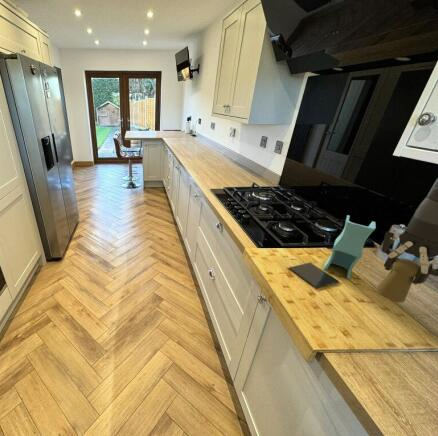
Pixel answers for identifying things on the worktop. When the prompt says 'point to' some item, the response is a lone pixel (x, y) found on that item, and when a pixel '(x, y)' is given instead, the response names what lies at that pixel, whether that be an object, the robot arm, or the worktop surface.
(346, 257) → the teal waisted stand
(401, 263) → the cork
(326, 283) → the slate coaster
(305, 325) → the worktop surface
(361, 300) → the worktop surface
